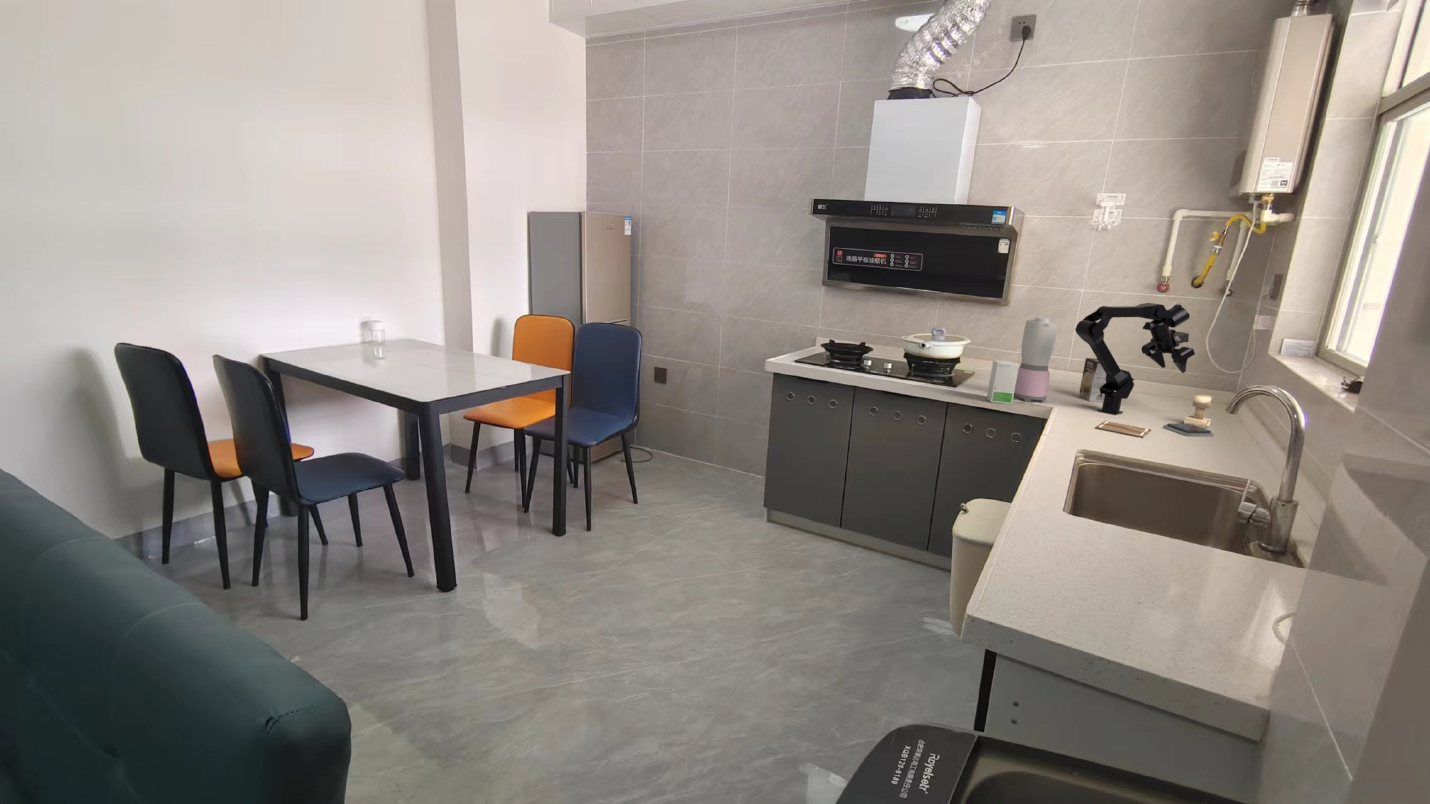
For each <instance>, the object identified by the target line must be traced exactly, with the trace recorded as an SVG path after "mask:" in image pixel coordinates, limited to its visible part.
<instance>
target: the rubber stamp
mask: <svg viewBox="0 0 1430 804" xmlns="http://www.w3.org/2000/svg"><path fill="white" fill-rule="evenodd" d="M1212 398H1213V397H1212V396H1211V395H1206V394H1198V393H1197V394H1194V396H1193V401H1192V407H1195V410H1194V413H1193V415H1189V416H1186V417H1185V418H1184V420H1183V424H1192V425H1195V426H1198V427H1201V428H1204V429H1207V428H1209V427H1210V425H1211V422H1212V420H1211V419H1210V418H1205V417H1204V415H1205V411H1206V409H1210V407H1211V403H1212Z"/></svg>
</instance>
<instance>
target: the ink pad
mask: <svg viewBox="0 0 1430 804" xmlns="http://www.w3.org/2000/svg"><path fill="white" fill-rule="evenodd" d="M1163 429H1166V430H1169V431H1172V432H1174V433H1177V434H1180V435H1183V436H1185V437H1214V435H1215V433H1213V432H1211V431H1212V430H1209V429H1207V428H1205V429H1204V428H1201V427H1198V426H1195V425H1192V424H1184V423H1171V422H1170V423H1167V424H1163Z"/></svg>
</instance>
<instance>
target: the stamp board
mask: <svg viewBox="0 0 1430 804" xmlns="http://www.w3.org/2000/svg"><path fill="white" fill-rule="evenodd" d="M1094 429H1095V430H1100V431H1106V432H1111V433H1116V434H1121V435H1126V436H1131V437H1134V438H1135V437H1136V438H1139V437H1141V438H1140V439H1144V438H1145V437H1146V436H1147V435H1149V433H1150V432H1152V429H1151V428H1146V427H1141V426H1135V425H1130V424H1126V423H1120V422H1117V421H1116V422H1114V421H1110V420H1104V421H1102V422H1101V423H1100V424H1098V425H1096V426H1095V428H1094ZM1145 435H1146V436H1145ZM1143 437H1144V438H1143Z"/></svg>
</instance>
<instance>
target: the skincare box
mask: <svg viewBox="0 0 1430 804" xmlns="http://www.w3.org/2000/svg"><path fill="white" fill-rule="evenodd" d="M1019 367H1020V364H1019V363H1017V362H1015V361H1008V360H1000V359H993V360H992V365H991V371H990V377H989V383H988V388H987V394H986V400H988V402H990V403H994V404H995V403H996V404H1003V405H1004V404H1006V405H1013V401H1014V397H1015V396H1014V391H1015V385H1016V379H1017V374H1018V368H1019Z"/></svg>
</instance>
